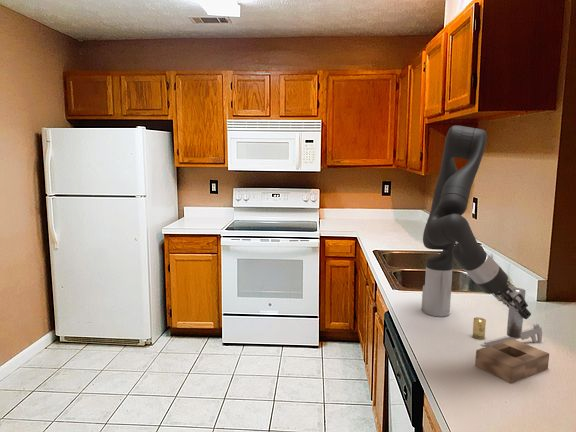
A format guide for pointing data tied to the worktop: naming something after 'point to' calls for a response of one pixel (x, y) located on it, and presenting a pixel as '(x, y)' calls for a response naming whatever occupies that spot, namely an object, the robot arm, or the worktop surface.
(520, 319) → the long pin
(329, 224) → the worktop surface
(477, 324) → the short pin
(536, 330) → the caliper
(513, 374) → the hole block
